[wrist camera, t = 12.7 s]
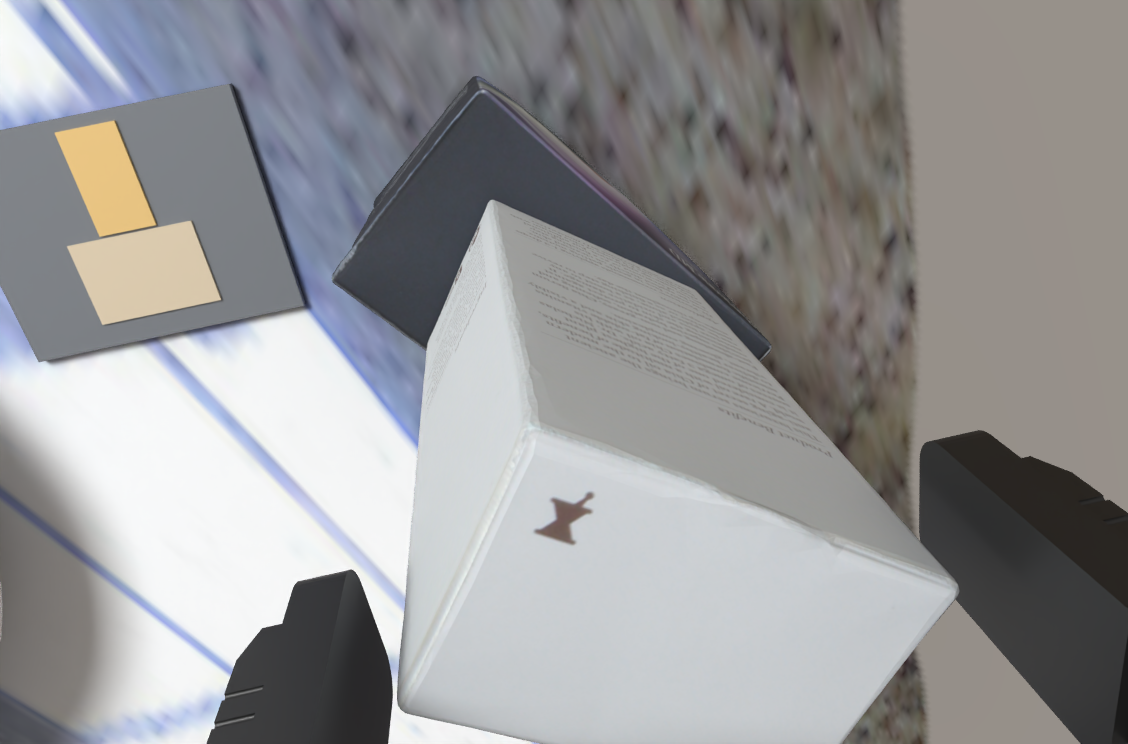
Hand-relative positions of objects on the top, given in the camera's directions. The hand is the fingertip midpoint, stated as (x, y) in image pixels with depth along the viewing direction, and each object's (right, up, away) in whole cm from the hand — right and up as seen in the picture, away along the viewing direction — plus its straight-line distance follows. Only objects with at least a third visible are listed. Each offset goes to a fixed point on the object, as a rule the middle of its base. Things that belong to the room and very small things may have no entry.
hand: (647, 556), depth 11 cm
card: (-17, +8, +17) cm, 25 cm away
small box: (-2, +8, +19) cm, 21 cm away
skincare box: (-1, +4, +9) cm, 10 cm away
